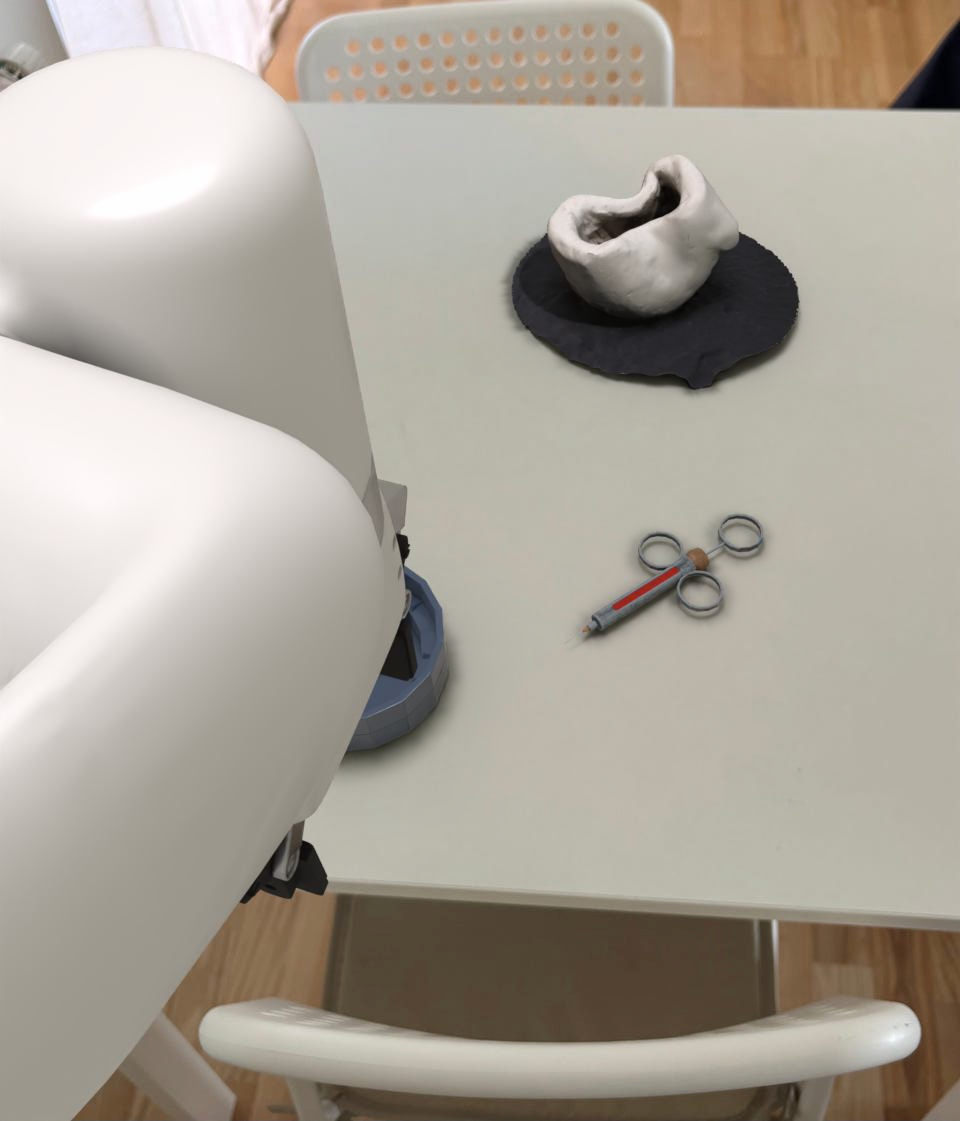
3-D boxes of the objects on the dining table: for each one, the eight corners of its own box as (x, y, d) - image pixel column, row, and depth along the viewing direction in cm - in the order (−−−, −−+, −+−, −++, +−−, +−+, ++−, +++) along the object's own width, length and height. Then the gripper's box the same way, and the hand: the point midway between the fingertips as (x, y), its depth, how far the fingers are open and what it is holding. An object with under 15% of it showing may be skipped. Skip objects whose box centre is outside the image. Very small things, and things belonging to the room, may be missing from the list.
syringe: (532, 611, 80) (532, 599, 78) (721, 496, 85) (724, 482, 84) (597, 688, 76) (598, 676, 75) (791, 563, 81) (795, 549, 80)
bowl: (409, 776, 73) (402, 744, 69) (233, 724, 76) (216, 689, 72) (472, 617, 80) (469, 578, 76) (309, 574, 83) (297, 534, 78)
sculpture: (805, 401, 92) (850, 283, 82) (507, 388, 92) (513, 268, 82) (775, 227, 105) (811, 105, 95) (514, 216, 105) (520, 93, 95)
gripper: (257, 287, 36) (335, 576, 50) (-39, 745, 27) (157, 942, 41) (472, 330, 35) (491, 617, 49) (234, 833, 26) (341, 1008, 40)
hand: (338, 766), depth 45 cm, fingers open, 9 cm apart
